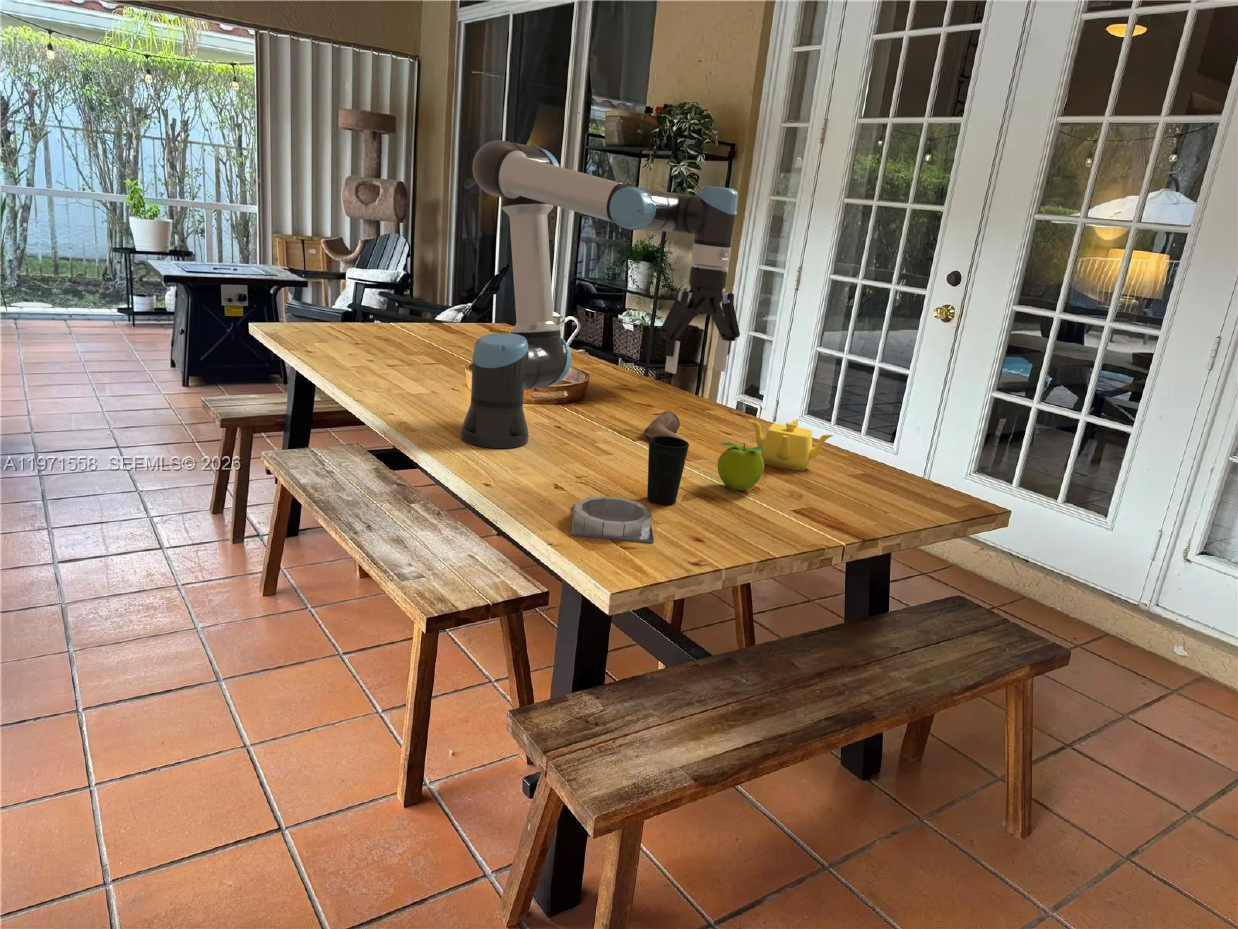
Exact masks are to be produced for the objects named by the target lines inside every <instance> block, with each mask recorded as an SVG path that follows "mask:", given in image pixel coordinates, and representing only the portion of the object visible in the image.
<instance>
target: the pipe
mask: <svg viewBox="0 0 1238 929" xmlns="http://www.w3.org/2000/svg"><path fill="white" fill-rule="evenodd" d="M680 422H681V421H680V419H679V417H678V416H677V414H676V413H674V412H673V411H671V410H666V411H663V412H662V413H661V414H660V415H658V416H657V417H656V418H655V419H653V421H651V423H650V424H649V425H648V426H647V427H645V429H644V430H643V435H644V436H646V437H648V438H649V439H650V438H651V437H654V436H669V437H676V438H680V439H683V440H685V439H684V438H683V437H681V436H680V435H678V434H677V433H678V430H679V428H680V427H681V423H680Z"/></svg>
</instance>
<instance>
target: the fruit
mask: <svg viewBox="0 0 1238 929" xmlns="http://www.w3.org/2000/svg"><path fill="white" fill-rule="evenodd" d="M720 445H722V446H731V447H729V448H727V449H725V450H724V451H723V452H722V453H721V454H720V456H719V457H718V460H717V474H718V476H719V478H720V479H721V482H723V484H724V485H725V486H726V487H728V488H729V489H732V490H734V491H740V492H741V491H746V490H749V489H751V488H752V487H754V486H755V485H756V484H757V483H758V482H759V481H760V479H761V477H762V476H763V473H764V471H765V470H764V469H765V464H764V461H763V458H762V455H761V452H764V450H763V449H762V448H761V447H758V446H754V447H749V446H746V444H745V442H743V445H737V444H735V443H731V442H723V443H720Z"/></svg>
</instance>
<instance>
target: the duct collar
mask: <svg viewBox="0 0 1238 929" xmlns="http://www.w3.org/2000/svg"><path fill="white" fill-rule="evenodd" d="M572 505H573V506H572V519H571V530H570V535H571V536H572V537H583V538H584V537H585V538H594V539H605V540H616V541H628V542H637V543H638V542H639V543H646V544H647V543H648V544H649V543H650V544H654V543H655V542H654V541H655V540H654V534H653V533H654V532H653V528H652V512H651V509H650V508H648V507H646V506H645V505H644V504H642V503H641V502H638V501H634V500H630V499H628V498H623V497H615V496H605V495H604V496H603V495H600V496H591V497H585V498H582V499H580V500H578V501H576V502H575V503H573V504H572Z"/></svg>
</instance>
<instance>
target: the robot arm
mask: <svg viewBox="0 0 1238 929" xmlns="http://www.w3.org/2000/svg"><path fill="white" fill-rule="evenodd" d="M472 160H473V161H472V175H473V178H474V180H475V182H476V184H477V185H478V187H479V188H480V189H481V190H482V191H483V192H485V193H486V194H489V195H490V196H492V197H493V196H494V197H498V198H500V199H501V210H503V211H504V212H505V213H506V215H508V217H509V225H510V226H509V229H510V243H511V244H510V245H511V258H512V260H511V261H512V272H513V273H512V274H513V275H512V276H513V287H514V288H513V291H514V301H515V302H514V304H515V319H516V323H515V325H514V326H513V327H512V328H511V329H510V333H509V332H507V333H506V332H501V333H497V332H496V333H489V334H485V335H482V336H481V337H479V338H477V340H476V341H475V342H474V348H473V353H472V367H471V369H472V372H471V387H470V388H471V390H470V391H471V393H470V395H471V396H470V405H469V406H468V409H467V412H466V415H465V417H464V420H463V423H462V425H461V430H460V438H461V440H462V441H464V442H466V443H468V444H471V445H473V446H478V447H483V448H490V449H513V448H515V449H516V448H519V447H523V446H525V445H526V444H528V442H529V429H528V423H527V421H526V415H525V413H524V393H525V391H528V390H532V389H537V388H548V387H551V386H552V385H556V384H557V383H559V382H561V381H562V380H563V379H564V378H565V377H566V376H567V374H568V373H569V371H570V368H571V366H572V365H571V364H572V352H571V348H570V346H569V345H568V344H567V341H566V340H565V339H564V338H563V337H562V334H561V328H560V327H559V326H558V325H557V324H556V323H555V320H554V311H553V310H554V308H553V294H552V293H553V292H552V278H551V277H552V276H551V258H550V256H551V255H550V240H549V238H550V237H549V225H548V221H549V220H548V215H549V213H550V212H551V211H552V210H553V209H554V207H558V208H562V209H565V210H569V211H571V212H577V213H579V214H581V215H582V214H583V215H587V216H591V217H592V218H593V217H594V218H597V219H601V220H603V221H608V222H611V223H615V224H616V225H617V226H618V227H621V228H623V229H628V230H631V231H637V230H642V231H643V230H645V231H658V232H670V233H678V234H679V233H680V234H689V235H694V238H693V240H694V241H693V246H692V253H691V254H692V255H691V261H690V262H691V264H692V265H693V266H691V267H690V270H689V278H688V285H689V287H690V288H689V291H686V290H681V289H678V290H677V291H676V293H675V298H674V302H673V303H672V306H671V307H670V310H669V312H668V313H667V315H666V317H665V319H664V322H662V325H661V327H660V329H659V331H658V335H659V336H660V337H662V338H663V339H665V340H666V342H665V349H664V354H665V356H666V360H665V369H664V371H665V372H668V373H671V374H673V375H675V374H677V369H678V362H679V353H680V345H681V341H679V340H678V339H679V338H680V337H681V336H682V334H683V332H684V331H685V330H686V329H687V327H688V326H689V325H690V324H691V322H692V321H693V320H694V318H696V317H698V316H699V315H710V316H711V318H712V321H713V322H714V325H715V327H716V328H717V331H718V333H719V335H720V337H721V338H717V344H716V349H715V350H716V353H715V359H714V367H713V370H715V371H716V370H717V371H719V372H722V373H723V372H726V366H727V360H728V356H729V354H730V350H731V344H732V342H735V341H736V339H737V338H739V337H740V335H741V332H740V328H739V323H738V319H737V314H736V309H735V304H734V302H735V294H734V293H732V292H727V291H723V290H724V289H725V288H726V287H727V280H728V271H727V270H726V269H727V268H729V264H730V256H731V251H732V250H731V249H732V242H733V235H734V229H735V224H736V216H737V213H738V211H737V209H738V208H737V207H738V191H737V190H736V189H734V188H730V187H723V186H715V185H714V186H711V185H703V186H702V187H701V188H700V191H699V194H697V195H696V194H695V195H693V194H692V195H691V194H683V193H675V192H667V191H662V190H661V191H660V190H652V189H647V188H643V187H639V186H634V185H631V184H625V183H623V182H618V181H615V180H612V179H607V178H604V177H599V176H596V175H592V174H589V173H588V174H587V173H585V172H580V171H577V170H573V169H570V168H566V167H562V166H560V164H559V162H558V161H557V159H556V158H555V156H554V155H553V154H552V153H551V152H550V151H548V150H546V149H544V148H541V147H539V146H536V145H532V144H531V145H529V144H523V143H518V142H517V143H516V142H512V141H507V140H501V139H500V140H498V139H497V140H492V141H488V142H486V143H485V144H483V145H482V146H481V147H480V148H479V149H478V150H477V151H476V153H475V155H474V158H473V159H472Z"/></svg>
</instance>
